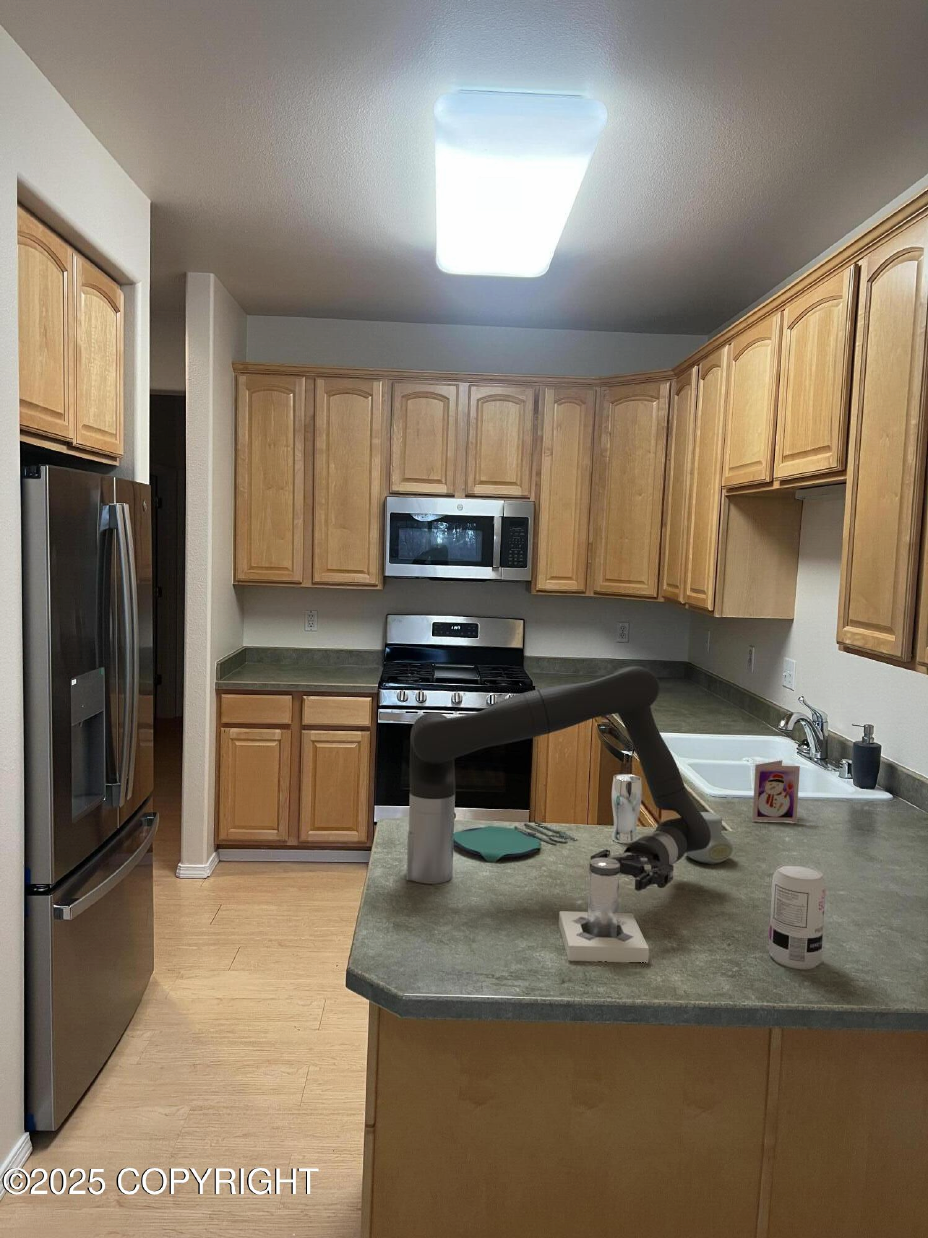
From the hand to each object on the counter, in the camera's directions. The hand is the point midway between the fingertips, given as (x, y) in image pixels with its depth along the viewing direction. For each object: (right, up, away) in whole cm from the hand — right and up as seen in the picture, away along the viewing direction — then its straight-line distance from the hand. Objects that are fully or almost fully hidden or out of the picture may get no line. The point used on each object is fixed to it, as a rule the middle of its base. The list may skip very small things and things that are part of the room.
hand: (614, 879), depth 150 cm
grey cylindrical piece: (-3, -10, -2) cm, 11 cm away
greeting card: (+54, -7, +75) cm, 93 cm away
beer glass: (+12, -7, +54) cm, 56 cm away
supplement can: (+29, -12, -6) cm, 32 cm away
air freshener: (+28, -9, +42) cm, 51 cm away
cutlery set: (-15, -7, +49) cm, 52 cm away
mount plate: (-3, -10, -3) cm, 11 cm away
